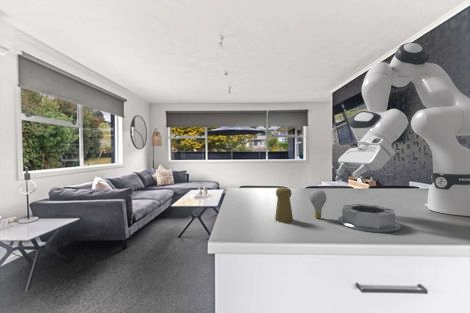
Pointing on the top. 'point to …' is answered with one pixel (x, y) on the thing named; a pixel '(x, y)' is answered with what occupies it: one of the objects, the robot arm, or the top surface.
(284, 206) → the cork
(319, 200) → the light bulb
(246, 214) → the top surface
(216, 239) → the top surface
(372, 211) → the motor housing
